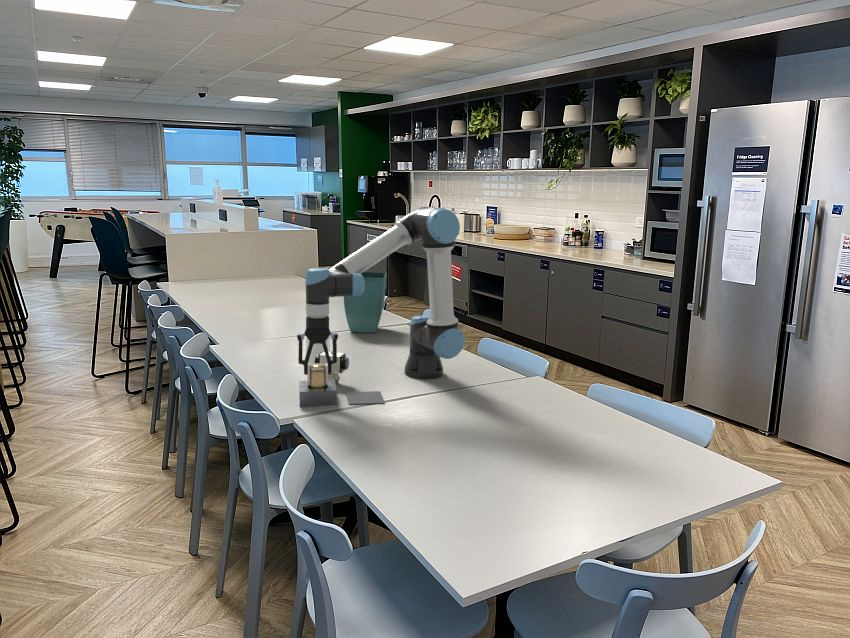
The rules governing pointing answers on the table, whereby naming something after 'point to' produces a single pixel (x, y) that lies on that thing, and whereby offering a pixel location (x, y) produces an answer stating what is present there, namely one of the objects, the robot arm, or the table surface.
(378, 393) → the mat
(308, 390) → the block
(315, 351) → the white squeeze bottle
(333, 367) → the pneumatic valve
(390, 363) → the table surface
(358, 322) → the flower pot
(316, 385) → the tan cylinder
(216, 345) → the table surface
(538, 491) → the table surface
